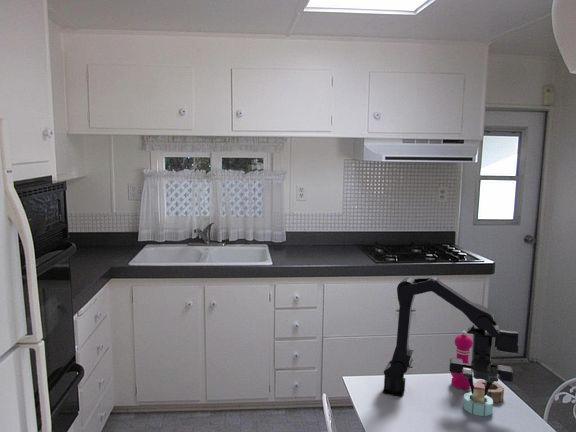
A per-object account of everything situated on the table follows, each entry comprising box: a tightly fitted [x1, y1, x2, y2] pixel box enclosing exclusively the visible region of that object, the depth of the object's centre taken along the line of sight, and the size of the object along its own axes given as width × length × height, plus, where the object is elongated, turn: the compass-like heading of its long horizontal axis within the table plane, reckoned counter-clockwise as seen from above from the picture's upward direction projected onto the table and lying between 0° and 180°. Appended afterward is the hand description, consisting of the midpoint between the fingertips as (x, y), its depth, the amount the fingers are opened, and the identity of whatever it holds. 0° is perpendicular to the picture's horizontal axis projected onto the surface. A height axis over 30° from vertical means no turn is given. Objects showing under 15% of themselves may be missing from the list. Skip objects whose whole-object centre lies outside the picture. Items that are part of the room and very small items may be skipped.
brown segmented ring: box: [475, 379, 505, 403], centre depth 162 cm, size 9×9×4 cm
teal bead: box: [462, 391, 494, 417], centre depth 153 cm, size 9×9×4 cm
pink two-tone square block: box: [472, 382, 485, 403], centre depth 152 cm, size 3×3×6 cm
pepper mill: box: [450, 330, 473, 390], centre depth 168 cm, size 7×7×20 cm
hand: (478, 394), depth 152 cm, fingers closed on pink two-tone square block, 3 cm apart
